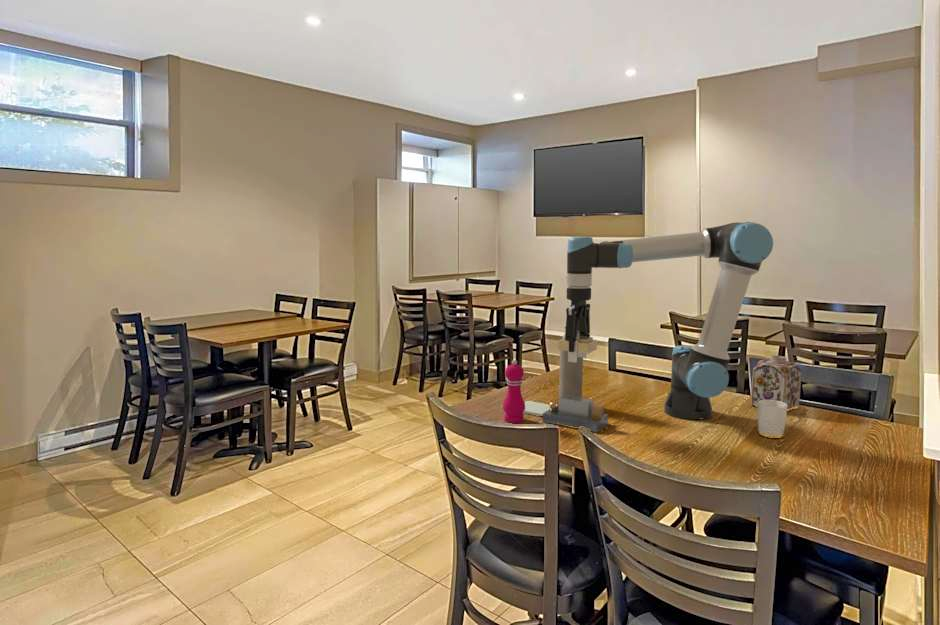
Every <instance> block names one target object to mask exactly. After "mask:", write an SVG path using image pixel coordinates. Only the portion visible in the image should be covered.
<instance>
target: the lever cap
mask: <svg viewBox="0 0 940 625" xmlns="http://www.w3.org/2000/svg"><path fill="white" fill-rule="evenodd" d="M576 341H578V342H577V352H581V353H586V354H590V353H592V352H594V351H596V350H597V349H598V340H597V339H593V336H590V337H587V336H579V337H577V338H576ZM557 342H558V343H557V349H558V351H560V350H564V351H568V341H565V338H563V339H562V338H560V339H558V341H557Z"/></svg>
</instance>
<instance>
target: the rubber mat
mask: <svg viewBox="0 0 940 625" xmlns="http://www.w3.org/2000/svg"><path fill="white" fill-rule="evenodd" d="M524 403H525V410H524V412H523V413H524V414H523V413H522V414H523V415H528V414H531V415H530V416H534V415H538V416H537V417H539V416H543V413H544V412H546V411H548V410H549V409H550V403H549V404H548V403H543V402H536V401H532V400H531V401H530V400H526V401H524Z"/></svg>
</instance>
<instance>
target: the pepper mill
mask: <svg viewBox="0 0 940 625" xmlns="http://www.w3.org/2000/svg"><path fill="white" fill-rule="evenodd" d="M524 373H525V371H524V368H523V367H522V365H519V364H518V361H517V360H516V359H513V360H512V361H511V364H509V365H508V366H506V368H505V370H504V376H505V377H506V378H507V379H506V384H507V392H506V395H505V398H504V401H503V404H502V409H503V411H504V412H505V413H504V414H503V415H504V417H503V419H504V421H505V422H506V423H510V422H512V423H513V424H517V423H518V424H519V423H522V422H524V419H525V418H524V416H525V414H523V412H524V410H525V403H524V402H525V400H524V398H523V395H522V391H521V390H522V389H521V387H522V384H523V377H524V375H525V374H524ZM512 423H511V424H512Z"/></svg>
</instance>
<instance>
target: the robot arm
mask: <svg viewBox="0 0 940 625" xmlns="http://www.w3.org/2000/svg"><path fill="white" fill-rule="evenodd" d="M773 247H774V239H773V235H772V234H771V232H770V231H769V229H768V228H767V227H766V226H765V225H762V224H761V223H756V222H752V221H751V222H750V221H745V222H739V221H738V222H731V223H730V222H729V223H727V224H722V225H717V226H713V227H707V228H706V227H704V228H702V229H701V231H698V232H689V233H679V234H669V235H660V236H649V237H641V238H640V237H639V238H633V239H623V240H613V241H608V240H607V241H601V242H599V243H596V242H594V241H593V237H592V236H571V237H569V239H568V241H567V251H566V252H567V254H566V260H567V261H566V270H567V273H566V274H567V275H566V276H565V279H566V286H568V287H566V299H567V300H568V301H569V300H570V307H566V309H565V310H566V311H565V312H566V321H565V322H566V323H565V327H566V333H565V332H564V335H565V341H568V362H575V363H576V362H577V342H578V341H576V338H577V332H578V329H579V336H587V337H591V333H590V332H591V326H590V324H591V321H590V320H591V318H590V316H591V315H590V310H591V303H587V301H590V300H591V299H592V288H591V286H592V282H593V277H592V276H593V275H592V274H593V273H592V272H593V268H595V269H597V268H598V269H599V268H601V269H607V268H608V269H627V268H630V267H631V266H632V264H633V263H639V262H648V261H650V262H651V261H659V260H671V259H680V258H681V259H682V258H690V257H691V258H692V257H700V256H701V257H703V258H704V259H711V258H712V259H714V258H715V259H717V258H718V261H717V263H718V264H719V266H720V273H719V276H718V279H717V282H716V285H715V288H714V291H713V295H712V298H711V300H710V303H709V307H708V311H707V314H706V316H705V320H704V322H703V326H702V329H701V332H700V335H699V339H698V342H697V343H696V344H694V345H691V344H690V345H683V344H681V345H675V346H674V347H673V349H672V354H671V373H670V374H671V377H670V390H669V392H668V395H667V397H666V400H665V401H664V404H663V405H664V409H663V410H664V413H666V414H667V415H669V416H672V417H674V418H678V419H683V418H684V420H693V419H699V420H701V419H700V418H707V417H710V416H711V415H712V416H713V406H712V404H711V400H710V398H714V397H716V396H720V394H722V393H723V392H724V391H725V390H726V389H727V387H728V385H729V381H730V376H729V371H728V370H727V369H728V366H729V364H730V360H731V357H730V355H729V354H728V350H729V349H728V348H729V346H730V344H731V343H730V342H731V339H732V336H733V334H734V331H735V328H736V324H737V321H738V318H739V315H740V312H741V309H742V306H743V303H744V300H745V296H746V294H747V290H748V288H749V284H750V281H751V277H752V276H754V275H755V274H758V273H759V271H760V268H761V266H762V262H763V261H765V260H766V259H767V258H768V257H769V256H770V254H771V253H772V250H773ZM578 357H583V359H584V358H585V359H586V358H587V353H581V352H578ZM712 416H711V417H712ZM711 417H710V418H711ZM707 419H708V418H707Z"/></svg>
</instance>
